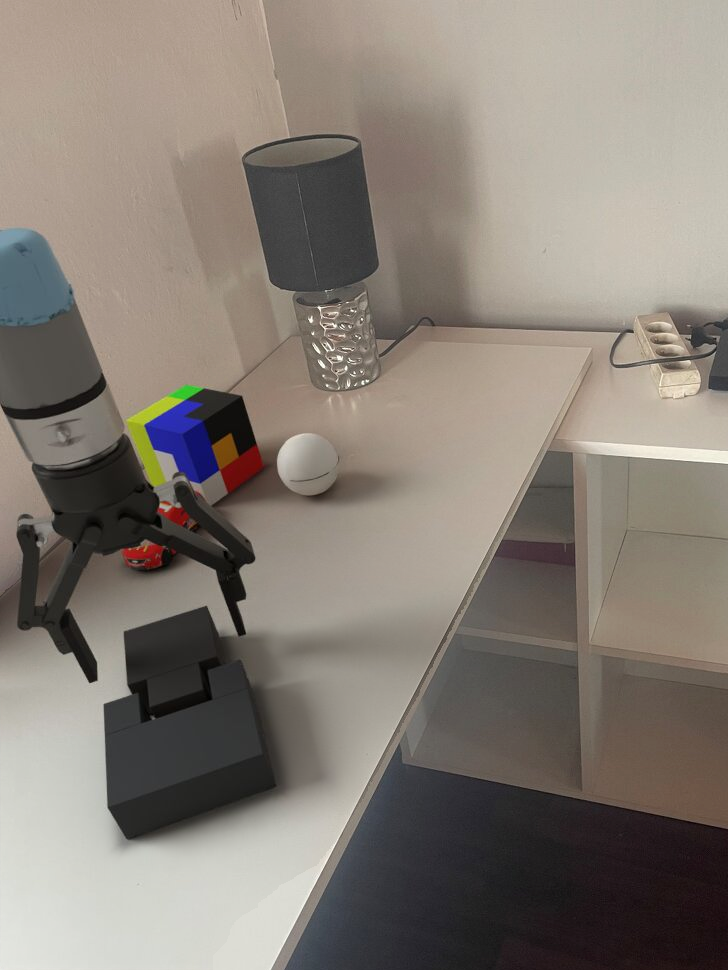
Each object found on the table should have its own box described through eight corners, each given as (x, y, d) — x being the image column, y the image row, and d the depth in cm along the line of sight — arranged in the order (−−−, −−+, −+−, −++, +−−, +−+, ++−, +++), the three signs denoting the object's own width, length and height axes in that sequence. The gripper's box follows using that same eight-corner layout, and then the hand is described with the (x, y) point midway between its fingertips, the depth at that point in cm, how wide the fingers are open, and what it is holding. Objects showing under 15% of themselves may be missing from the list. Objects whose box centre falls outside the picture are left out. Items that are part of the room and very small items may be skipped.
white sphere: (279, 510, 102) (263, 456, 98) (292, 477, 108) (277, 424, 104) (362, 503, 101) (349, 448, 97) (370, 470, 107) (358, 416, 102)
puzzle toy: (208, 507, 105) (182, 433, 99) (154, 491, 110) (125, 420, 104) (264, 467, 111) (242, 395, 105) (210, 453, 116) (186, 384, 110)
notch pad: (120, 735, 76) (103, 703, 74) (253, 691, 78) (240, 658, 76) (126, 839, 67) (107, 807, 65) (276, 786, 69) (263, 753, 67)
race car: (159, 577, 95) (146, 548, 92) (118, 573, 97) (105, 544, 94) (218, 510, 104) (208, 482, 102) (180, 507, 106) (169, 479, 103)
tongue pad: (138, 662, 84) (123, 631, 81) (219, 636, 85) (206, 605, 83) (146, 745, 75) (129, 713, 72) (236, 715, 76) (223, 682, 74)
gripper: (-101, 516, 61) (27, 720, 75) (245, 425, 66) (307, 632, 79) (-86, 468, 67) (30, 666, 80) (231, 387, 72) (291, 587, 85)
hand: (168, 649), depth 80 cm, fingers open, 13 cm apart
